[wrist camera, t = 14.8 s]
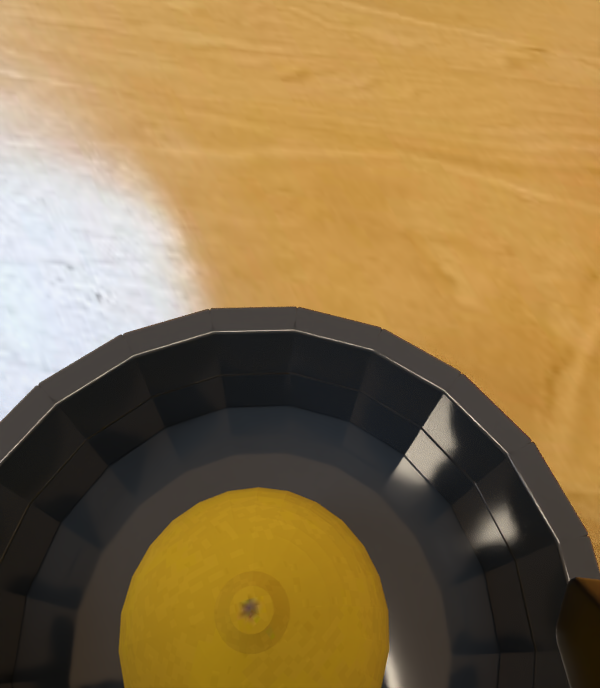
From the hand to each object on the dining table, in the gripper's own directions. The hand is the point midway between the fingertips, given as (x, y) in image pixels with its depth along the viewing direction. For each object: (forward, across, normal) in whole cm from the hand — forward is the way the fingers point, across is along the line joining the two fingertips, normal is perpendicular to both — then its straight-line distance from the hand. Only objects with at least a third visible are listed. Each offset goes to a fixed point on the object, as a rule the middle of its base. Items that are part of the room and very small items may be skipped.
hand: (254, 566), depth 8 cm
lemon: (+6, 0, +7) cm, 9 cm away
